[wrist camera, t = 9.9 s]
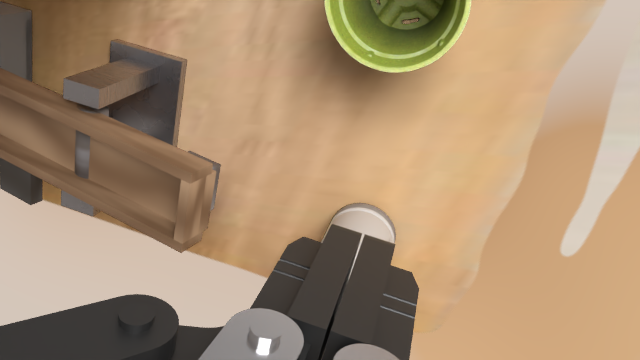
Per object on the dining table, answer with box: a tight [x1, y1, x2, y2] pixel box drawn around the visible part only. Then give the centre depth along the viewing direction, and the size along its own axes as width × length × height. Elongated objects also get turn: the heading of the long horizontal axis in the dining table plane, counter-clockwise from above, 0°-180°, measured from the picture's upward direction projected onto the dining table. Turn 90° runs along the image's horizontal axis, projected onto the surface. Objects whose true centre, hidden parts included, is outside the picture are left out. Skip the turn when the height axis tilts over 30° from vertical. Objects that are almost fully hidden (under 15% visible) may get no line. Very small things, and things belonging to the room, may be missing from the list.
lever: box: [0, 68, 221, 253], centre depth 46 cm, size 11×24×5 cm, turn 77°
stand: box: [61, 39, 187, 216], centre depth 48 cm, size 13×7×10 cm, turn 167°
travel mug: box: [321, 203, 396, 358], centre depth 43 cm, size 6×7×20 cm
